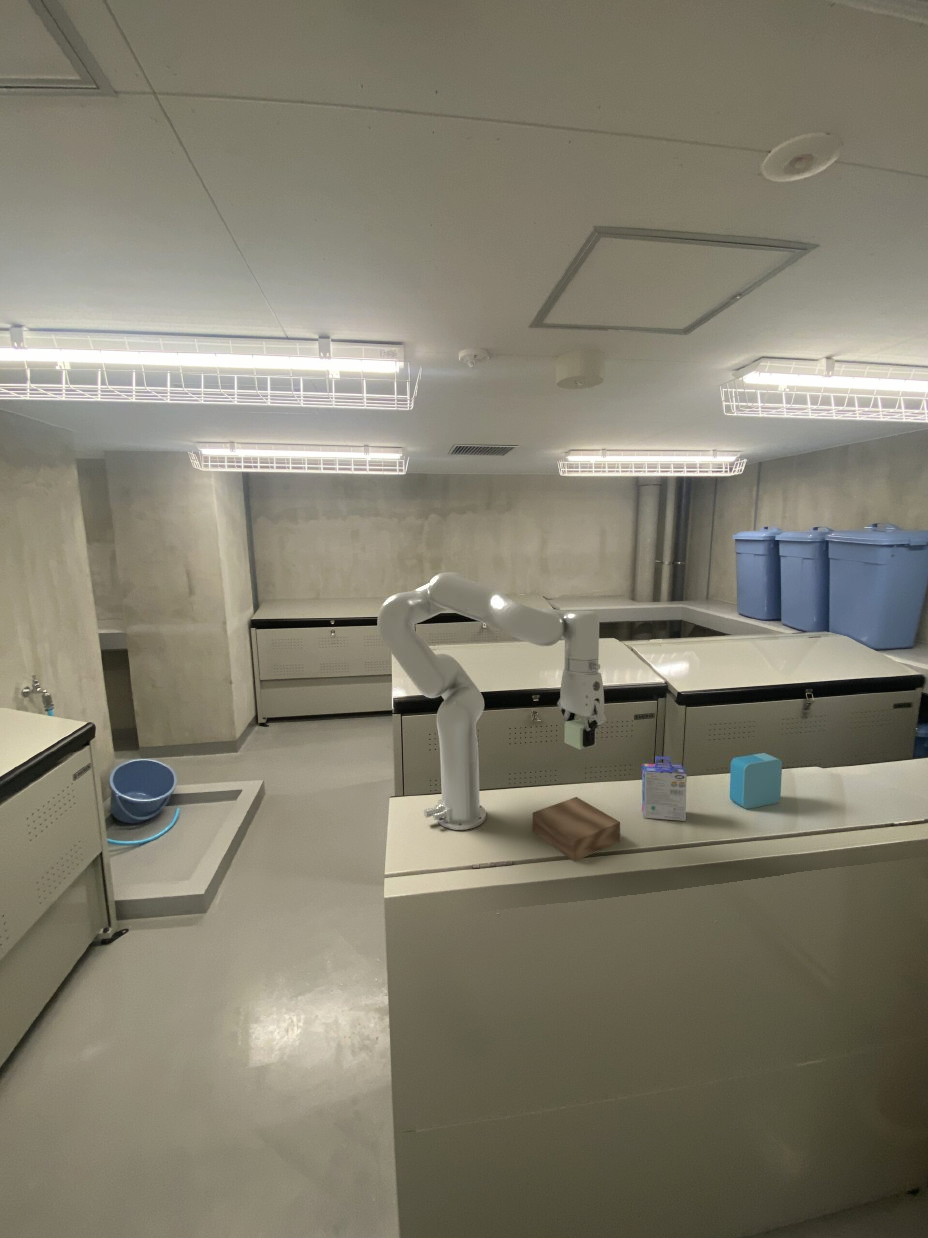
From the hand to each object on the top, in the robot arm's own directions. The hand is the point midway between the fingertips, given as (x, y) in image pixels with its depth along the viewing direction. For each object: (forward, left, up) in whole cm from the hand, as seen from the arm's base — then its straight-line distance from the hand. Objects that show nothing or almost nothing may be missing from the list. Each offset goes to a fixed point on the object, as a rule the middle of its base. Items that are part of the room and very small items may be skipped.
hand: (579, 741), depth 110 cm
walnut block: (-2, -1, -22) cm, 23 cm away
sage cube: (0, 0, -1) cm, 1 cm away
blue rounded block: (+48, -13, -22) cm, 54 cm away
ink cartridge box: (+23, -5, -22) cm, 32 cm away
